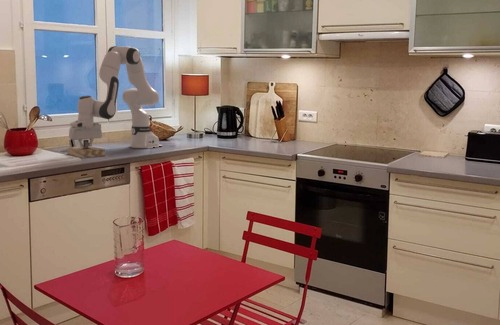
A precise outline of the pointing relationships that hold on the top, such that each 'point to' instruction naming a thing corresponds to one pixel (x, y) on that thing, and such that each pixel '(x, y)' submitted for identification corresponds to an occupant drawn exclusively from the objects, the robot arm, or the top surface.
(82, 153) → the hole block
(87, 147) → the peg
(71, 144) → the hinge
